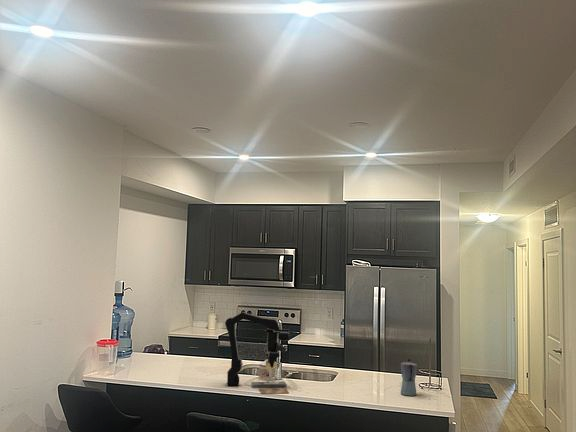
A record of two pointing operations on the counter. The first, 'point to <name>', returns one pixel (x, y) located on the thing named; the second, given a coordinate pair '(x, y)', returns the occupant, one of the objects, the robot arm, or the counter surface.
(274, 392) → the walnut board
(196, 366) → the counter surface
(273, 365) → the lever cap
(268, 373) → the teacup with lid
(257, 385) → the plane body
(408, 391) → the moka pot
